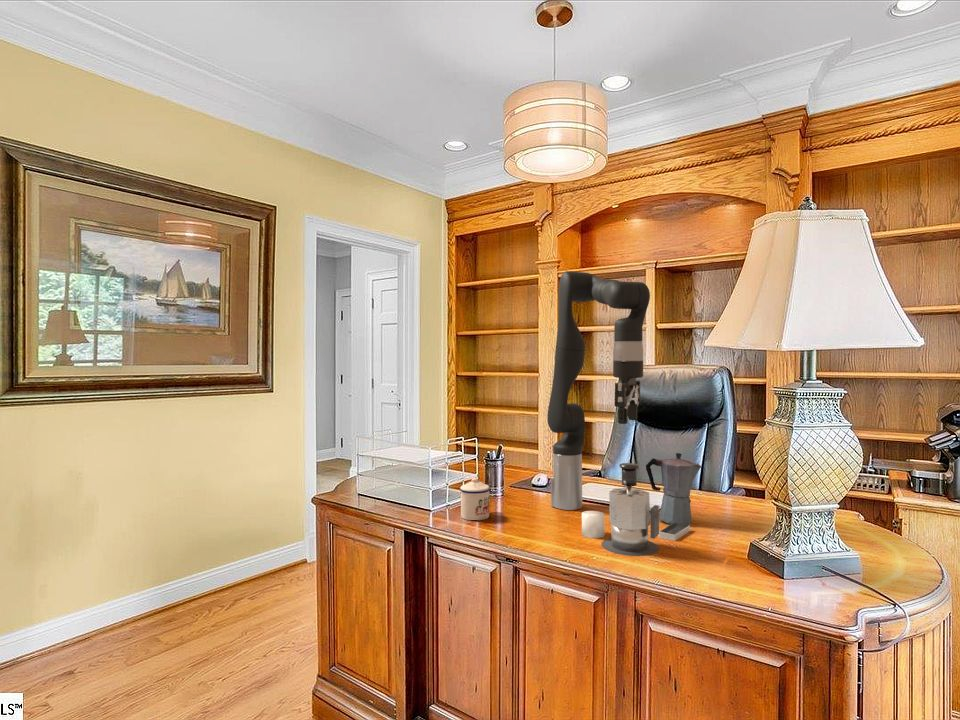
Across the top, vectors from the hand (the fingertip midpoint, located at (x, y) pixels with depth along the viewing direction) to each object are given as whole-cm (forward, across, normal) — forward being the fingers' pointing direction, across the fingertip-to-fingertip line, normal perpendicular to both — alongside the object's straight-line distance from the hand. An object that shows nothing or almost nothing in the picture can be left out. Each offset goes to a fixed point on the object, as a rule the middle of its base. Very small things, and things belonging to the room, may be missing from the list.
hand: (627, 421), depth 139 cm
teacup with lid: (+32, -1, -46) cm, 56 cm away
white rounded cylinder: (+32, 0, -9) cm, 33 cm away
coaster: (+31, +4, +2) cm, 31 cm away
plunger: (+24, +4, +2) cm, 25 cm away
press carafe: (+31, +4, +3) cm, 31 cm away
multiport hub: (+32, -12, +9) cm, 35 cm away
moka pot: (+32, -24, +6) cm, 40 cm away
